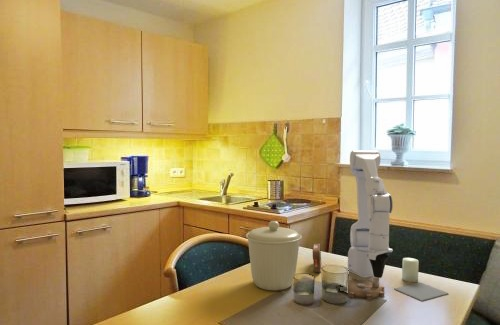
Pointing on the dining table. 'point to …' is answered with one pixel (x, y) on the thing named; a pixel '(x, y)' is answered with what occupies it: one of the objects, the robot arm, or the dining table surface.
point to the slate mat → (421, 291)
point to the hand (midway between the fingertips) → (378, 276)
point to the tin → (317, 257)
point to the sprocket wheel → (365, 288)
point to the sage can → (410, 269)
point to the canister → (273, 256)
